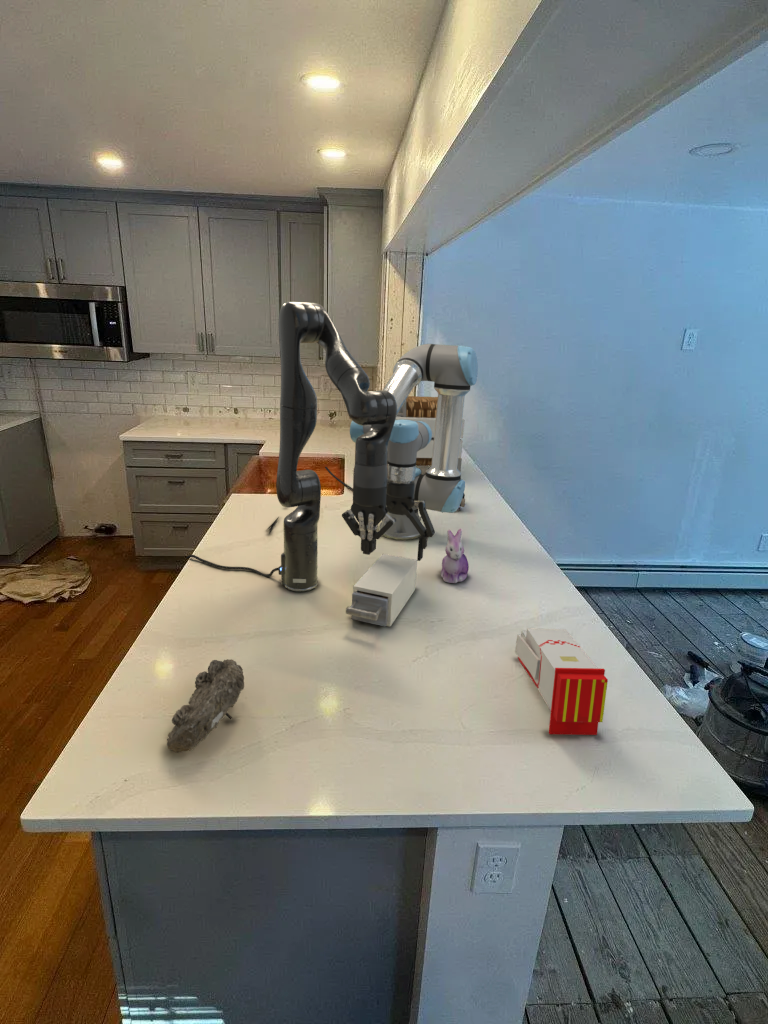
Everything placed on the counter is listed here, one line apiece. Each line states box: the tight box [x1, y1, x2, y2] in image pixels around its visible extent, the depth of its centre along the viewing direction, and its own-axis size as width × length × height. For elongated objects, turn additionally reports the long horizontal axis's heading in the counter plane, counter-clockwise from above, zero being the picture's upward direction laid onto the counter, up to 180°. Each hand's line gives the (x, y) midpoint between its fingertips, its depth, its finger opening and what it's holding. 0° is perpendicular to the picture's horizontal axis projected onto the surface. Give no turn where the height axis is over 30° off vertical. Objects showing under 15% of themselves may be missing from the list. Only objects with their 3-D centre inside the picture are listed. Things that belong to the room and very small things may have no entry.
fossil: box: [166, 658, 245, 754], centre depth 106 cm, size 22×10×15 cm
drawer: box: [345, 591, 388, 627], centre depth 146 cm, size 26×9×7 cm, turn 160°
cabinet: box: [352, 553, 418, 627], centre depth 151 cm, size 22×10×9 cm, turn 161°
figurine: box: [440, 528, 470, 584], centre depth 167 cm, size 9×10×15 cm
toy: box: [514, 627, 609, 736], centre depth 119 cm, size 12×13×30 cm
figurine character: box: [457, 493, 466, 511], centre depth 229 cm, size 7×8×15 cm
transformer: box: [387, 395, 465, 474], centre depth 268 cm, size 34×33×41 cm
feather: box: [266, 507, 287, 535], centre depth 206 cm, size 2×28×2 cm
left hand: (367, 553), depth 132 cm, fingers closed
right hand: (396, 554), depth 155 cm, fingers open, 13 cm apart
